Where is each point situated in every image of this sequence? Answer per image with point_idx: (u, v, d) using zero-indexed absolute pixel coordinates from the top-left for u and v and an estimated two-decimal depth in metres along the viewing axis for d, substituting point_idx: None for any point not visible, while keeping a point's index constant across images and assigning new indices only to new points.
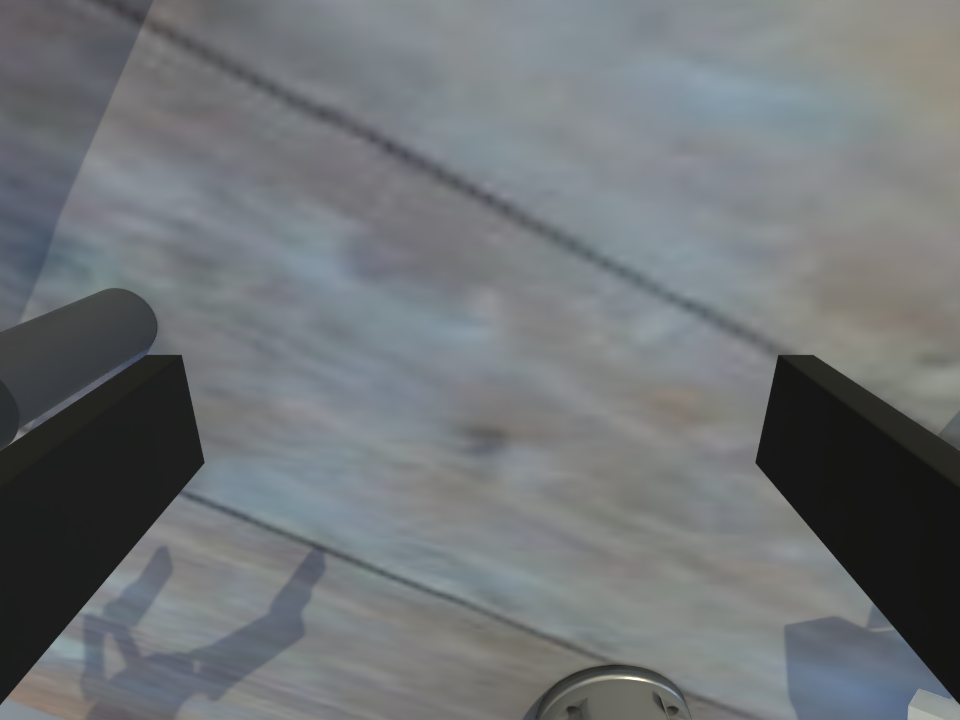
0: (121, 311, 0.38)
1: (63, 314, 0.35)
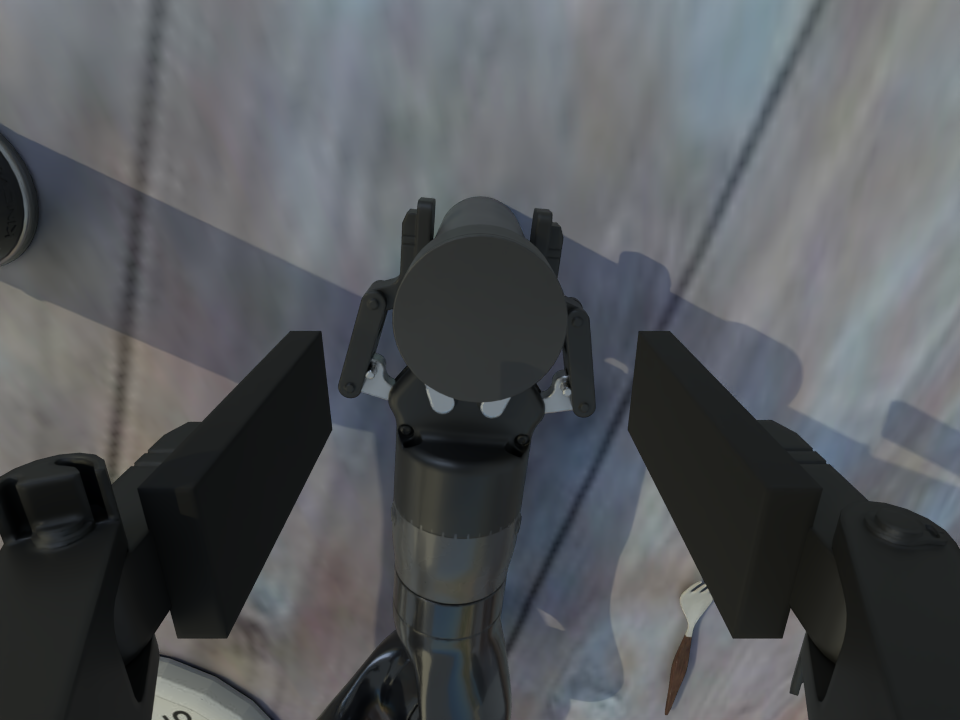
0: (445, 217, 0.30)
1: None
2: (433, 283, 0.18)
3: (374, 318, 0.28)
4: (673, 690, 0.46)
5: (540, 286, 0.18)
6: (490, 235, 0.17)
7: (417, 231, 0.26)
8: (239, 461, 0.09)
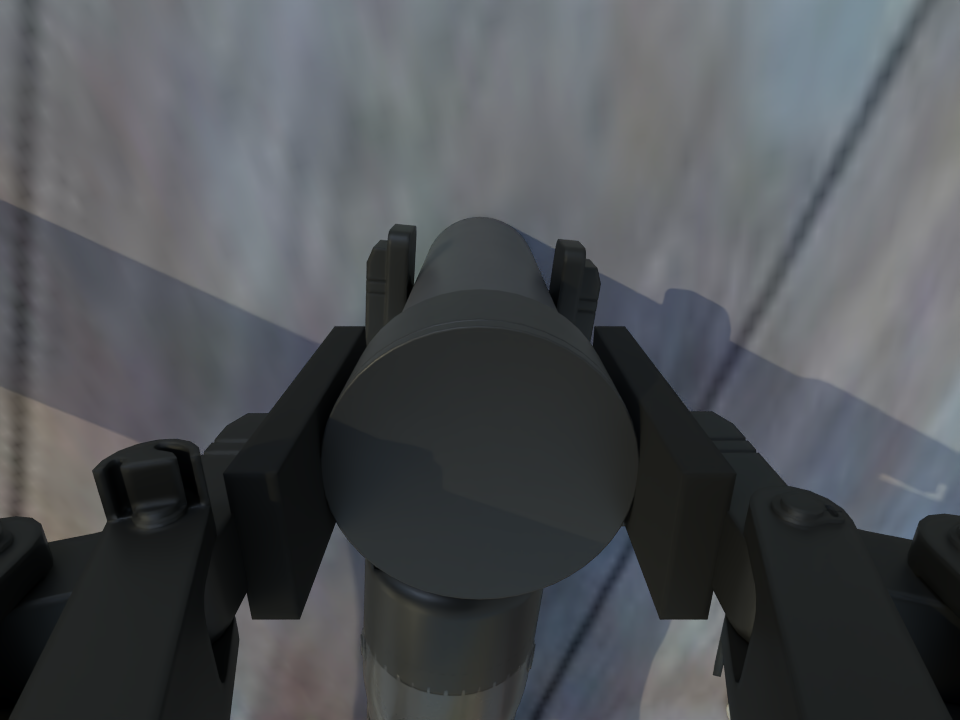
0: (433, 248, 0.22)
1: None
2: (393, 410, 0.10)
3: None
4: None
5: (592, 415, 0.10)
6: (499, 325, 0.09)
7: (388, 275, 0.18)
8: (308, 448, 0.09)
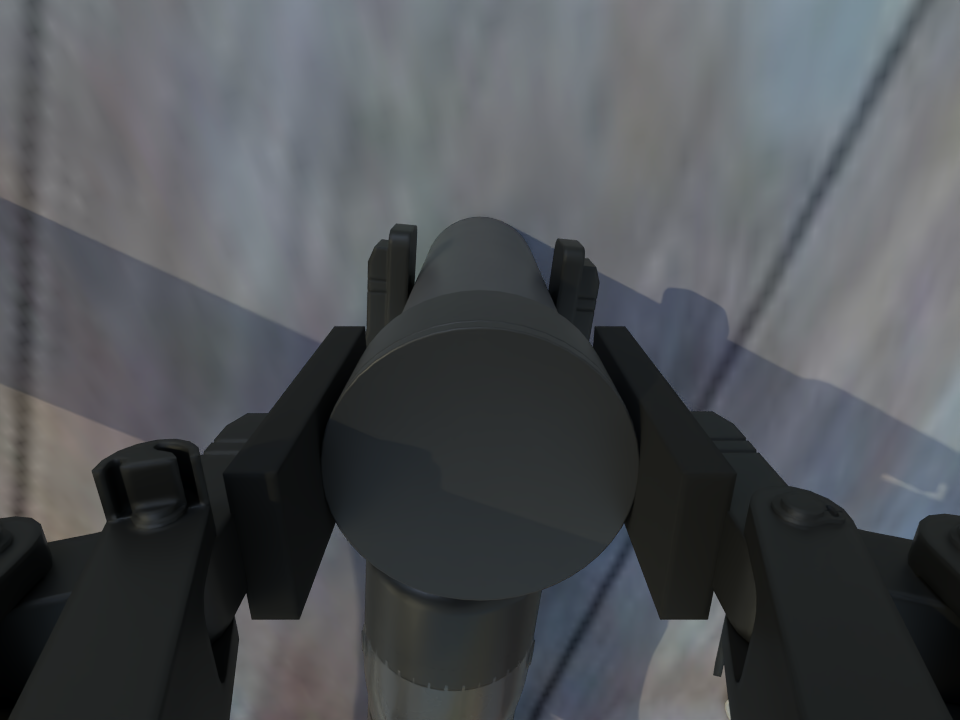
0: (433, 247, 0.22)
1: None
2: (471, 566, 0.11)
3: None
4: None
5: (355, 441, 0.10)
6: (351, 541, 0.11)
7: (389, 274, 0.18)
8: (307, 449, 0.09)
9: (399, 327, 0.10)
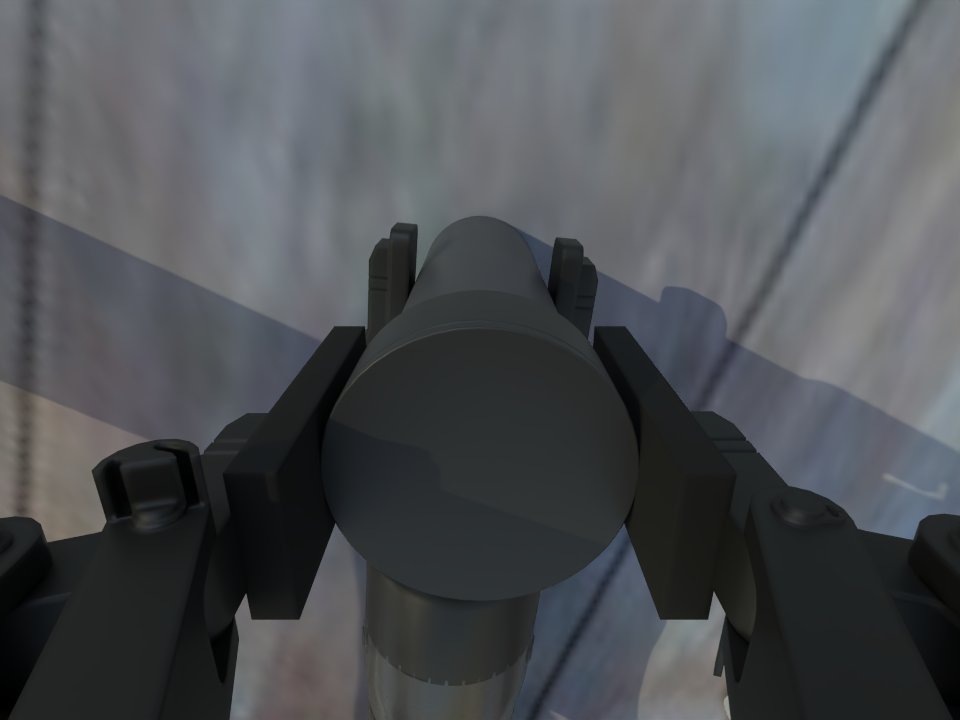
0: (434, 246, 0.22)
1: None
2: (577, 425, 0.10)
3: None
4: None
5: (516, 574, 0.11)
6: None
7: (390, 272, 0.18)
8: (307, 449, 0.09)
9: None
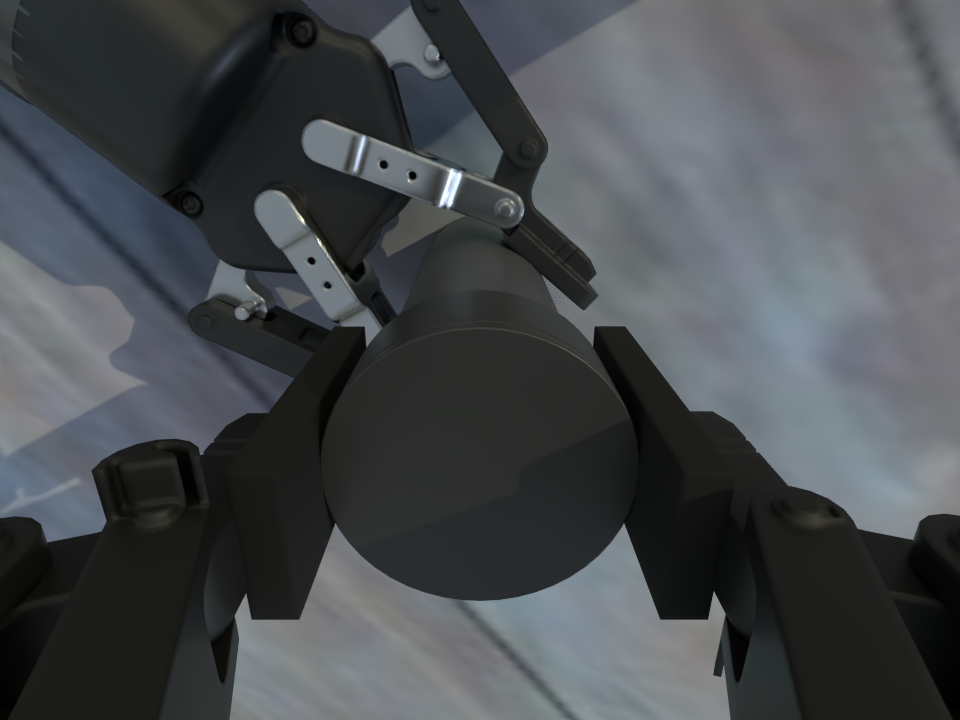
0: None
1: None
2: (577, 425, 0.10)
3: (508, 133, 0.17)
4: None
5: (516, 574, 0.11)
6: None
7: (570, 274, 0.18)
8: (308, 448, 0.09)
9: None
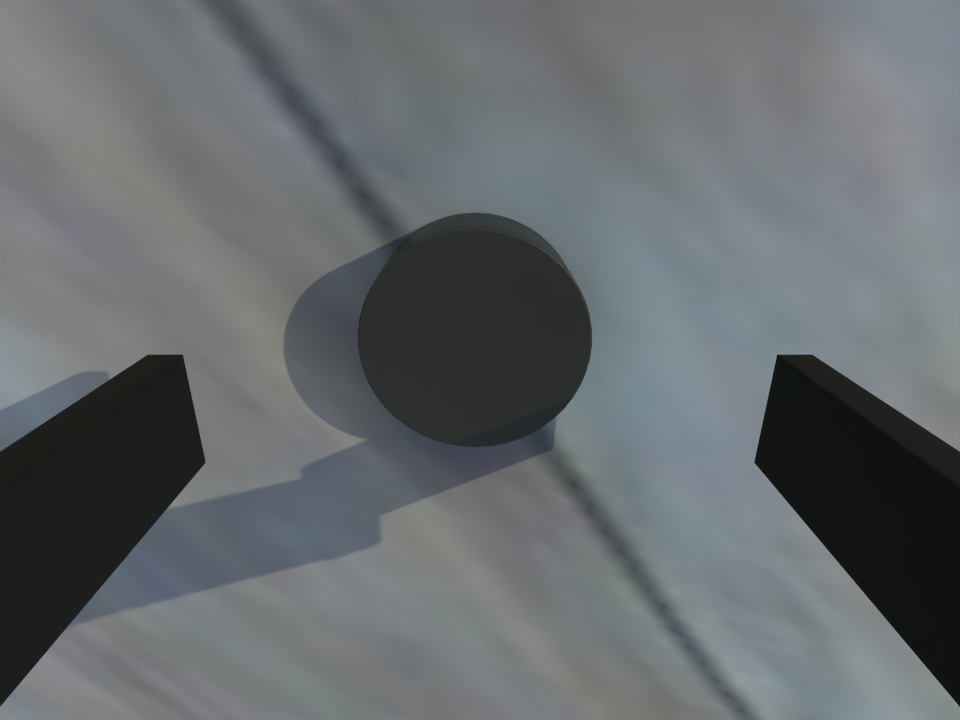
0: None
1: None
2: (545, 304, 0.13)
3: None
4: None
5: (503, 424, 0.15)
6: (580, 383, 0.14)
7: None
8: None
9: None
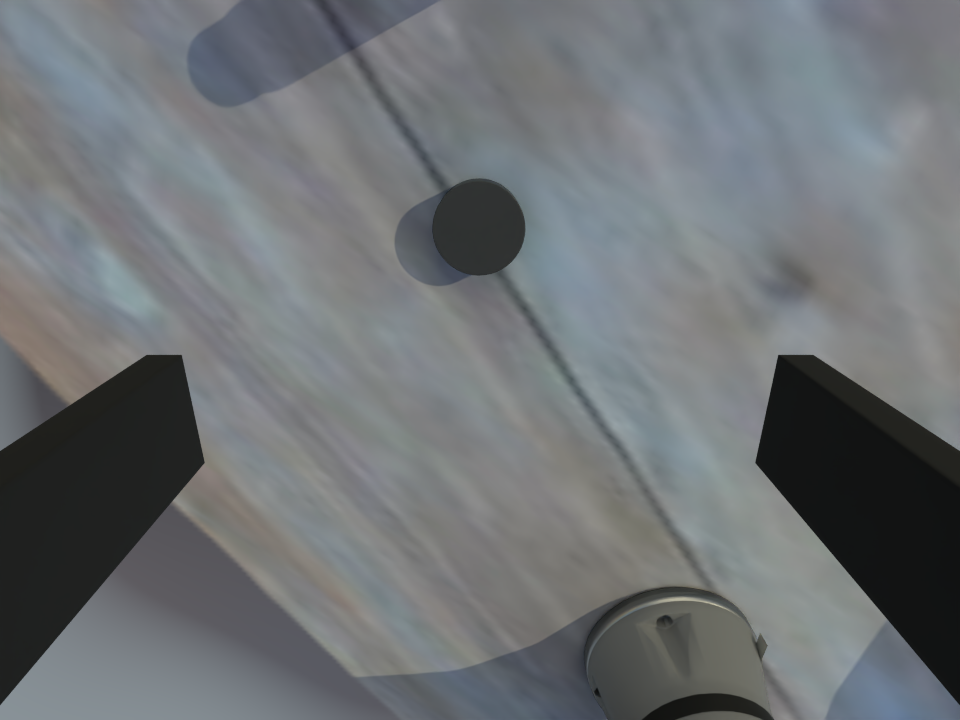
0: None
1: None
2: (506, 211, 0.34)
3: None
4: None
5: (490, 264, 0.36)
6: (521, 246, 0.35)
7: None
8: None
9: None
